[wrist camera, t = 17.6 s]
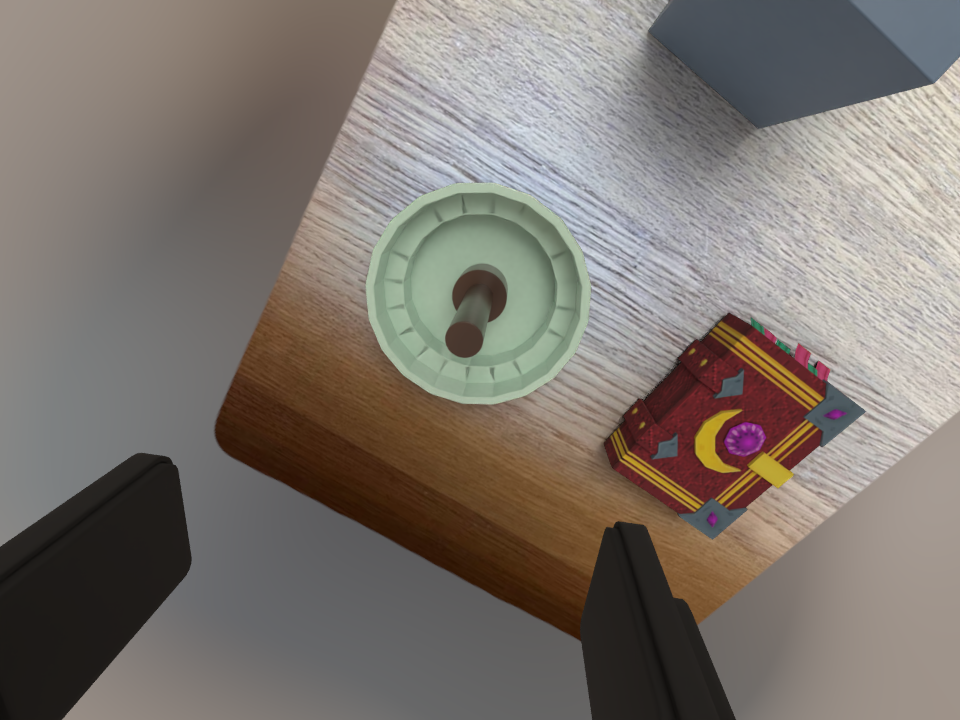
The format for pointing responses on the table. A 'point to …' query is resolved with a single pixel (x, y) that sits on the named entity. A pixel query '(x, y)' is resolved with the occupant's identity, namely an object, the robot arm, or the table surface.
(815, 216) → the table surface
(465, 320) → the brown wooden handle
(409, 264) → the bowl
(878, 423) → the table surface
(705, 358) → the decorative book
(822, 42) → the stand
